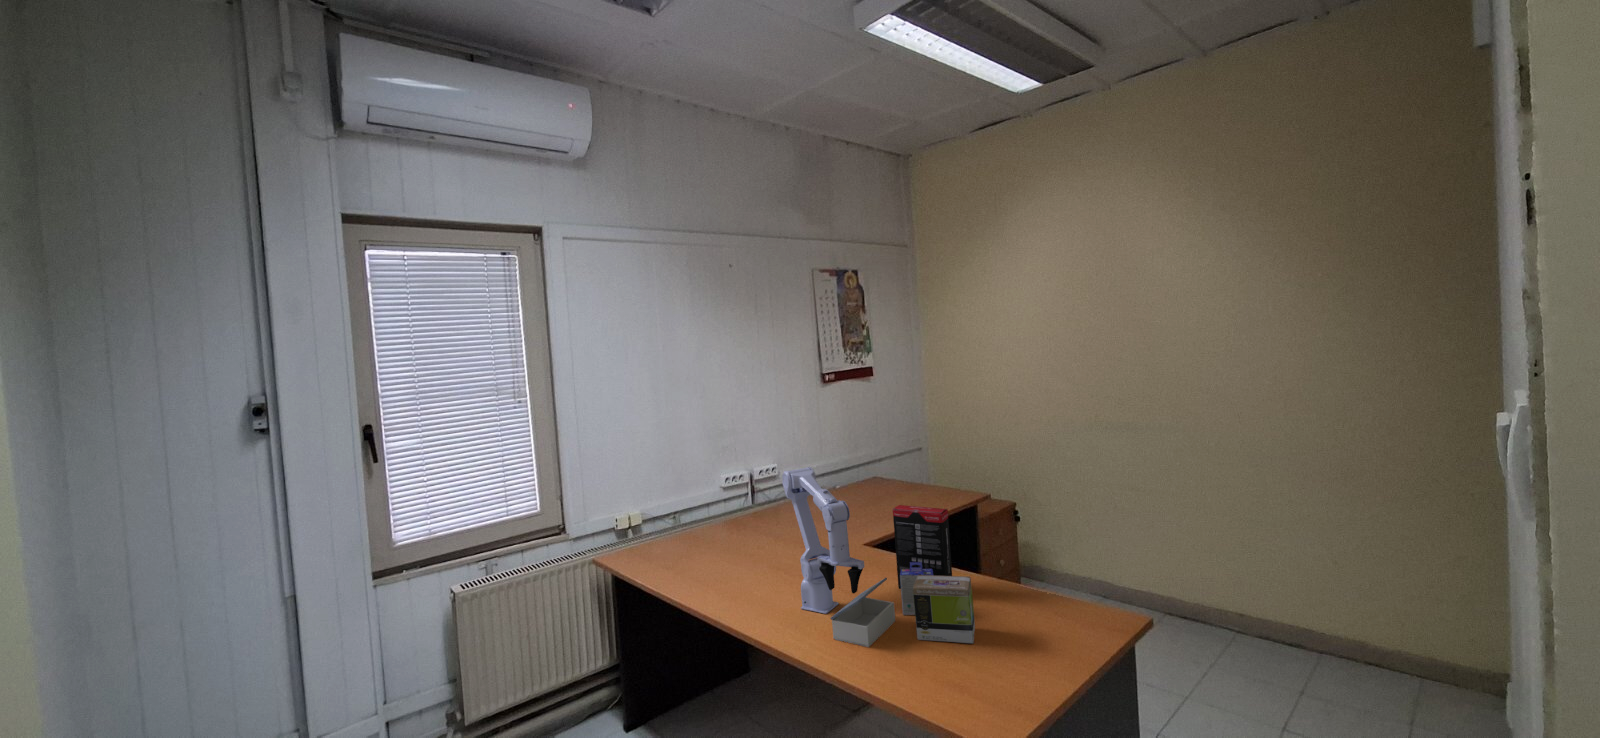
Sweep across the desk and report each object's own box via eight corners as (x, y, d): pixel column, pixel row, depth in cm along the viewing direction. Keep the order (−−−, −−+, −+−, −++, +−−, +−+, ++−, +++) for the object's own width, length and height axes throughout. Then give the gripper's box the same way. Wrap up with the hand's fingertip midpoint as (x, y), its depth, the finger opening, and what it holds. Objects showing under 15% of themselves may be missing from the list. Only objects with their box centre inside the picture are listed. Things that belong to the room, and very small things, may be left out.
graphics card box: (955, 590, 193) (948, 506, 192) (948, 598, 187) (941, 512, 187) (905, 583, 202) (899, 503, 202) (897, 591, 197) (890, 508, 196)
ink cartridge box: (936, 607, 182) (932, 560, 182) (936, 615, 177) (932, 567, 176) (903, 607, 184) (899, 560, 184) (902, 615, 179) (898, 567, 178)
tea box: (975, 627, 168) (971, 575, 167) (973, 645, 158) (969, 589, 158) (921, 623, 173) (917, 573, 172) (916, 640, 163) (912, 587, 163)
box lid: (831, 620, 167) (829, 617, 168) (860, 596, 182) (859, 593, 182) (859, 602, 162) (857, 599, 162) (887, 579, 176) (885, 576, 177)
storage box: (833, 639, 168) (831, 619, 167) (862, 614, 182) (860, 596, 181) (868, 647, 161) (866, 627, 161) (895, 620, 176) (893, 602, 175)
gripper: (810, 546, 175) (814, 592, 175) (854, 550, 167) (858, 599, 167) (822, 539, 181) (827, 583, 181) (865, 543, 173) (870, 589, 173)
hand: (843, 590), depth 175 cm, fingers open, 7 cm apart
